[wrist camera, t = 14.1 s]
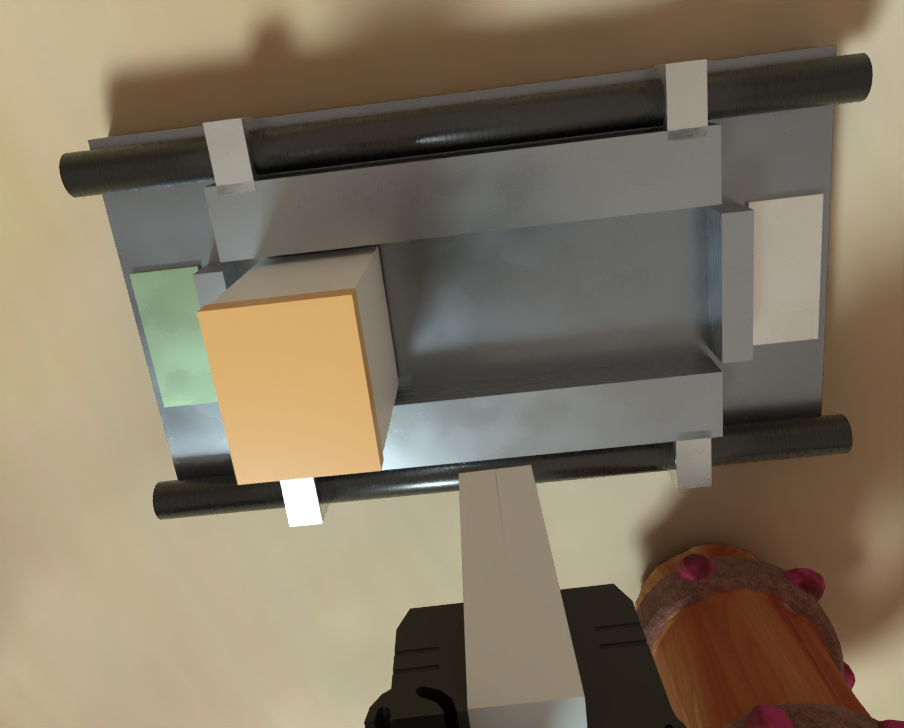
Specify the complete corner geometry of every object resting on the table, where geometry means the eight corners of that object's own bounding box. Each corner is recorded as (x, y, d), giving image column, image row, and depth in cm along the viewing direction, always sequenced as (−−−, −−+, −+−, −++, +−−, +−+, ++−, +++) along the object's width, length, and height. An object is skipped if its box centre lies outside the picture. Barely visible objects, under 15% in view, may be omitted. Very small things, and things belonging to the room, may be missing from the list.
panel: (187, 497, 32) (159, 538, 29) (92, 135, 27) (48, 142, 24) (816, 435, 31) (853, 472, 28) (831, 41, 26) (877, 37, 23)
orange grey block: (287, 396, 29) (237, 484, 22) (259, 258, 27) (196, 312, 21) (400, 384, 28) (381, 470, 22) (379, 244, 27) (351, 294, 20)
